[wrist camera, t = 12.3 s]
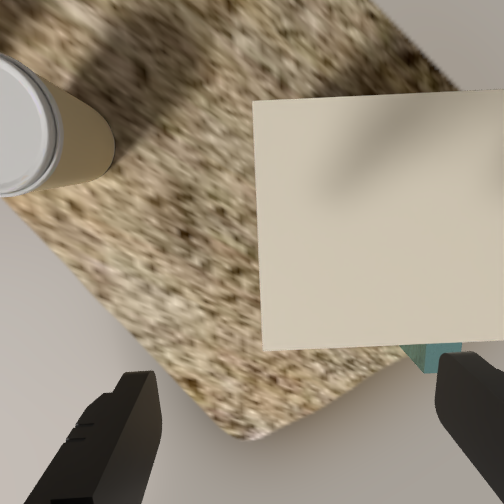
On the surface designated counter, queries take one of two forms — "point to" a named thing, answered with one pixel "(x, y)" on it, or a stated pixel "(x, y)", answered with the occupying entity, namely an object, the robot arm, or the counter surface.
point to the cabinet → (380, 219)
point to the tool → (429, 354)
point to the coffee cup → (47, 134)
